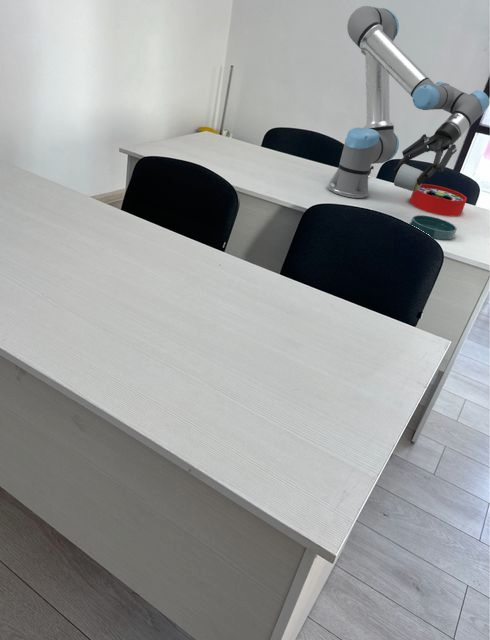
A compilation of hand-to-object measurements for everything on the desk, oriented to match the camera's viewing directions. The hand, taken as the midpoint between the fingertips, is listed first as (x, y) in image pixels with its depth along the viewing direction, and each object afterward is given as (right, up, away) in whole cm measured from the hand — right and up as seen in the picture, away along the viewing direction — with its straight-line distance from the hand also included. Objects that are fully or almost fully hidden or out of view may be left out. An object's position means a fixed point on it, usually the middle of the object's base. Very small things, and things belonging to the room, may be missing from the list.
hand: (406, 177), depth 199 cm
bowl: (+9, -19, 0) cm, 20 cm away
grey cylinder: (+1, -3, +4) cm, 5 cm away
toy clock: (+21, -3, +28) cm, 36 cm away
